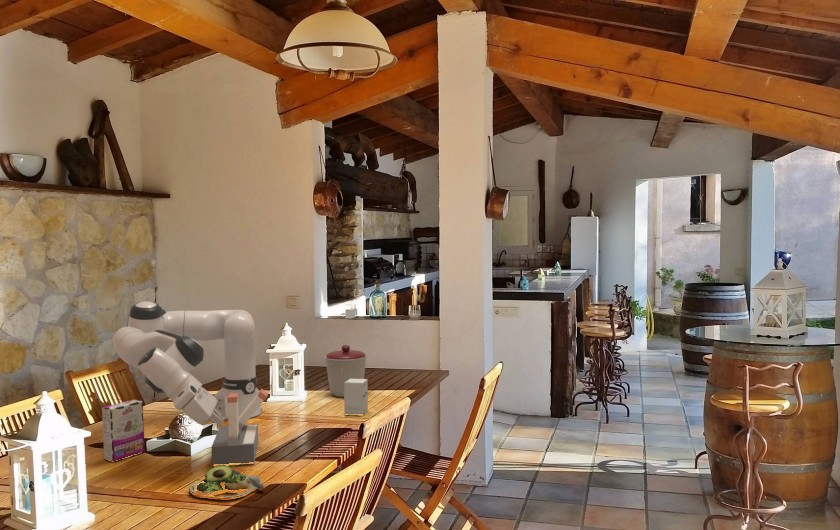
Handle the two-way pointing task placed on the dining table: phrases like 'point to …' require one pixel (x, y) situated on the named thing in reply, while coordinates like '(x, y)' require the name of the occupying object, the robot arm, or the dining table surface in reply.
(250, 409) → the lever
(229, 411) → the lever
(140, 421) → the candy bar box
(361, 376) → the canister
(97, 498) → the dining table surface
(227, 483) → the salad plate
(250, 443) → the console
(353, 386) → the supplement box
